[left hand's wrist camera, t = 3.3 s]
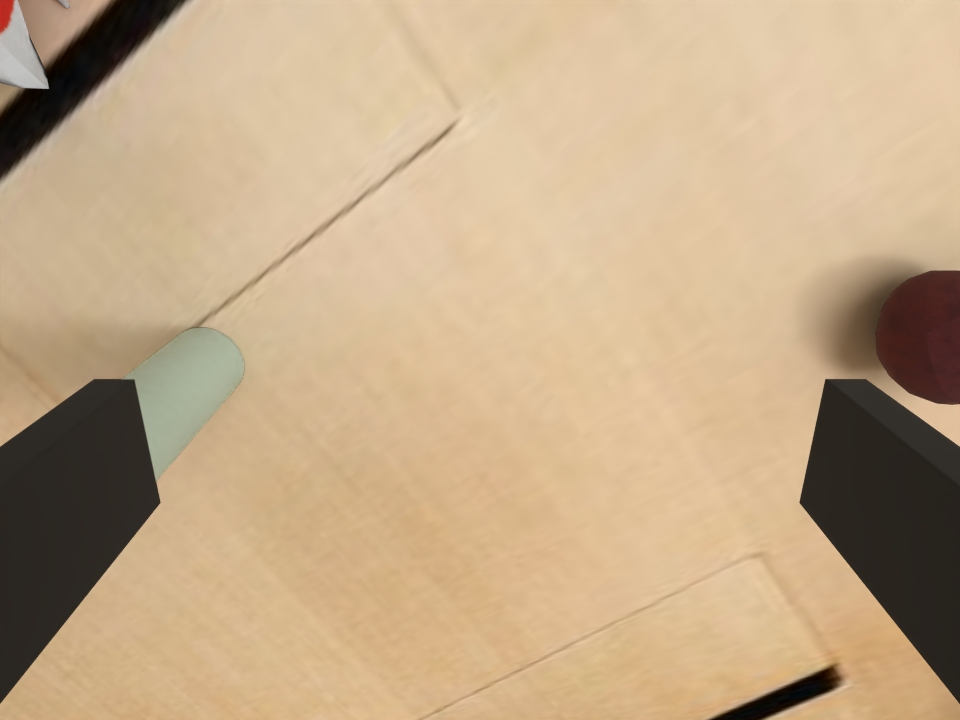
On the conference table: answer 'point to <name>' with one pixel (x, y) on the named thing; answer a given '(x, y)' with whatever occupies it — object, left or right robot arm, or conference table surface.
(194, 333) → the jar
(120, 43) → the conference table surface
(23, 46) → the fish
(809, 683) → the conference table surface
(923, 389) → the dark red ball
